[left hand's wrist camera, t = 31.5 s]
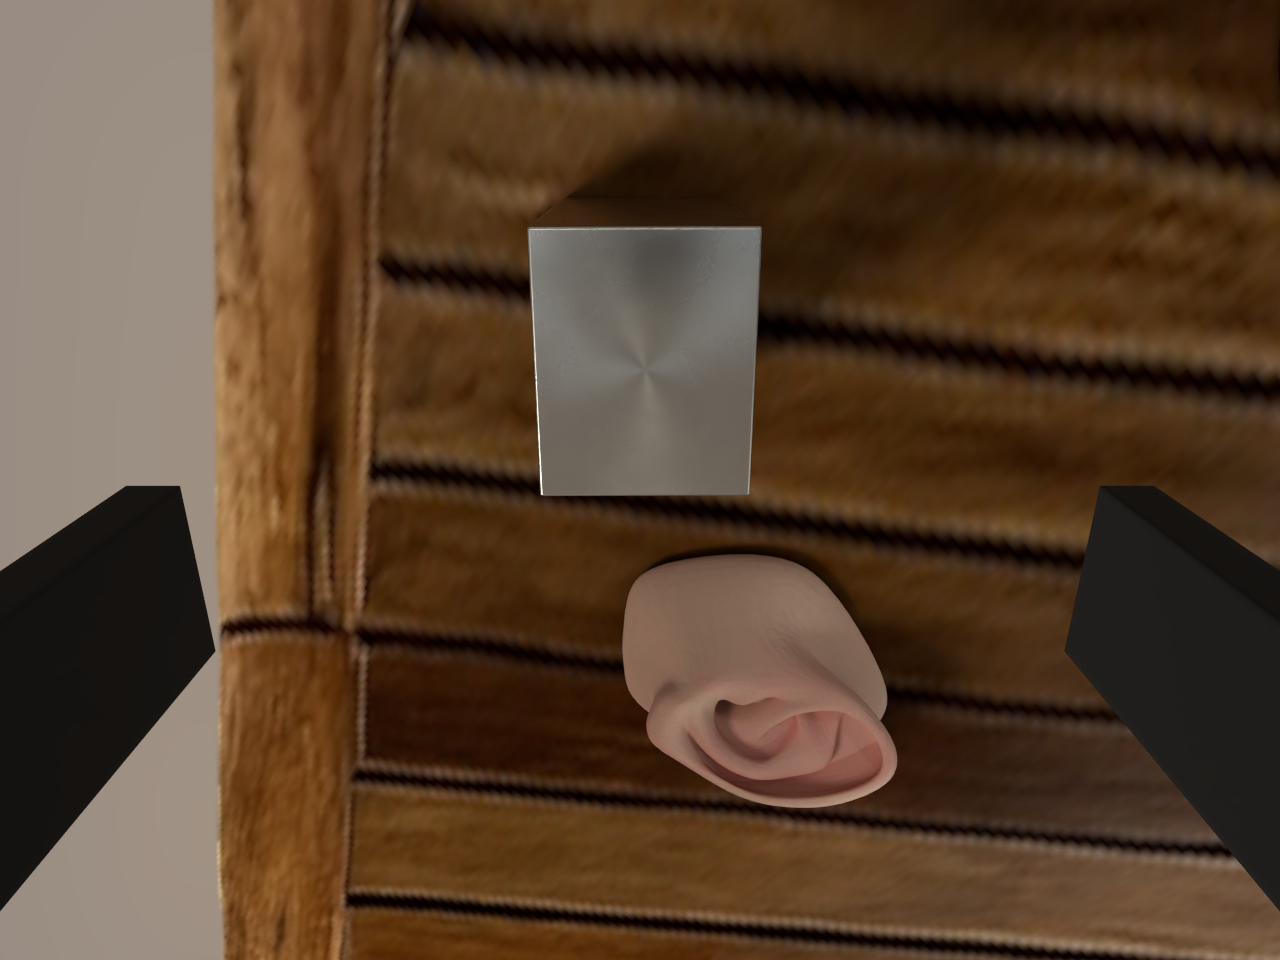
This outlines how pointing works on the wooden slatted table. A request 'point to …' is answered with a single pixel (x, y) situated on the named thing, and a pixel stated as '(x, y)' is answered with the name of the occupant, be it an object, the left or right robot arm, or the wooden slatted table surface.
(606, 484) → the block
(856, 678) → the anatomical model
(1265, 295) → the wooden slatted table surface
